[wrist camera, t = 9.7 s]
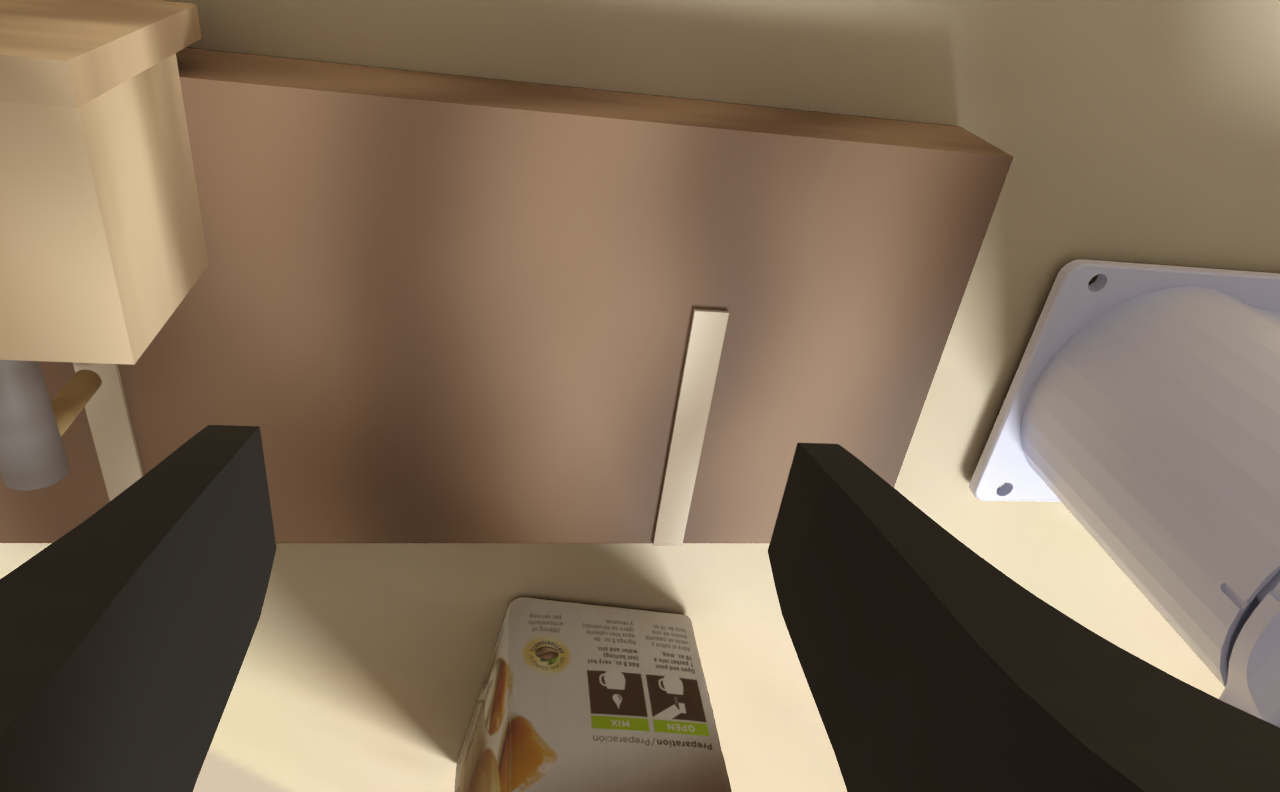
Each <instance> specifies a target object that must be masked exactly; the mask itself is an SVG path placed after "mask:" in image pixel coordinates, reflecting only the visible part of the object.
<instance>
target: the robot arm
mask: <svg viewBox="0 0 1280 792" xmlns="http://www.w3.org/2000/svg"><path fill="white" fill-rule="evenodd" d="M1096 275H1098V278H1097V279H1096V280H1095V282H1094V283H1092V284H1091V285H1088V284H1089V281H1090V280H1091V279H1092V278H1093V277H1094V276H1096ZM1003 483H1005V484H1004V485H1003V486H1001V487H999V486H1000V485H1002V484H1003ZM998 487H999V488H998ZM969 488H970V490H971V492H972V493H973V495H974V496H975V497H976V498H977V499H978V500H982V501H1044V502H1062V503H1063V504H1064V505H1065V507H1066V508H1067V509H1068V510H1069V511H1070V512H1071V513H1072V514H1073V516H1074V517H1075V518H1076V519H1077V520H1078V521H1079V522H1080V524H1081V525H1082V526H1083V527H1084V528H1085V529H1086V530H1087V531H1088V533H1089V534H1090V535H1091V536H1092V537H1093V538H1094V539H1095V540H1096V542H1097V543H1098V544H1099V545H1100V546H1101V547H1102V548H1103V550H1104V551H1105V552H1106V553H1107V554H1108V555H1109V556H1110V557H1111V559H1112V560H1113V561H1114V562H1115V563H1116V564H1117V565H1118V567H1119V568H1120V569H1121V570H1122V571H1123V572H1124V573H1125V574H1126V576H1127V577H1128V578H1129V579H1130V580H1131V581H1132V582H1133V584H1134V585H1135V586H1136V587H1137V588H1138V589H1139V590H1140V591H1141V593H1142V594H1143V595H1144V596H1145V597H1146V598H1147V599H1148V601H1149V602H1150V603H1151V604H1152V605H1153V606H1154V607H1155V608H1156V610H1157V611H1158V612H1159V613H1160V614H1161V615H1162V616H1163V618H1164V619H1165V620H1166V621H1167V622H1168V623H1169V624H1170V625H1171V627H1172V628H1173V629H1174V630H1175V631H1176V632H1177V633H1178V634H1179V636H1180V637H1181V638H1182V639H1183V640H1184V641H1185V642H1186V644H1187V645H1188V646H1189V647H1190V648H1191V649H1192V650H1193V651H1194V653H1195V654H1196V655H1197V656H1198V657H1199V658H1200V659H1201V661H1202V662H1203V663H1204V664H1205V665H1206V666H1207V667H1208V668H1209V670H1210V671H1211V672H1212V673H1213V674H1214V675H1215V676H1216V678H1217V679H1218V680H1219V681H1220V682H1221V683H1222V684H1223V685H1224V687H1225V689H1224V691H1223V693H1222V694H1221V696H1220V698H1219V699H1217V698H1215V697H1213V696H1211V695H1209V694H1207V693H1205V692H1203V691H1201V690H1199V689H1197V688H1195V687H1193V686H1191V685H1189V684H1187V683H1185V682H1183V681H1181V680H1179V679H1177V678H1175V677H1173V676H1171V675H1169V674H1167V673H1166V672H1164V671H1162V670H1160V669H1158V668H1156V667H1154V666H1153V665H1151V664H1149V663H1147V662H1145V661H1143V660H1142V659H1140V658H1138V657H1136V656H1134V655H1132V654H1130V653H1129V652H1127V651H1125V650H1123V649H1121V648H1119V647H1118V646H1116V645H1114V644H1112V643H1111V642H1109V641H1107V640H1106V639H1104V638H1102V637H1100V636H1099V635H1097V634H1095V633H1094V632H1092V631H1090V630H1088V629H1087V628H1085V627H1084V626H1082V625H1080V624H1079V623H1077V622H1076V621H1074V620H1073V619H1071V618H1069V617H1068V616H1066V615H1065V614H1063V613H1061V612H1060V611H1058V610H1057V609H1055V608H1054V607H1052V606H1050V605H1049V604H1047V603H1046V602H1044V601H1042V600H1041V599H1039V598H1038V597H1036V596H1035V595H1033V594H1032V593H1030V592H1029V591H1027V590H1026V589H1024V588H1023V587H1022V586H1020V585H1019V584H1017V583H1016V582H1014V581H1013V580H1012V579H1010V578H1009V577H1007V576H1006V575H1005V574H1003V573H1002V572H1001V571H999V570H998V569H996V568H995V567H994V566H992V565H991V564H989V563H988V562H987V561H985V560H984V559H983V558H981V557H980V556H978V555H977V554H976V553H974V552H973V551H972V550H971V549H969V548H968V547H967V546H965V545H964V544H963V543H961V542H960V541H959V540H957V539H956V538H955V537H954V536H952V535H951V534H950V533H949V532H947V531H946V530H945V529H943V528H942V527H941V526H940V525H938V524H937V523H936V522H935V521H933V520H932V519H931V518H930V517H929V516H927V515H926V514H925V513H924V512H922V511H921V510H920V509H919V508H917V507H916V506H915V505H914V504H913V503H911V502H910V501H909V500H908V499H906V498H905V497H904V496H903V495H902V494H900V493H899V492H898V491H897V490H896V489H894V488H893V487H892V486H891V485H890V484H888V483H887V482H886V481H885V480H884V479H882V478H881V477H880V476H879V475H878V474H876V473H875V472H874V471H873V470H871V469H870V468H869V467H868V466H866V465H865V464H864V463H863V462H862V461H860V460H859V459H858V458H856V457H855V456H854V455H853V454H851V453H850V452H849V451H847V450H846V449H844V448H843V447H842V446H840V445H839V444H826V443H797V446H796V450H795V454H794V457H793V461H792V465H791V468H790V472H789V476H788V479H787V483H786V487H785V490H784V494H783V498H782V501H781V505H780V508H779V512H778V516H777V519H776V523H775V527H774V530H773V534H772V538H771V541H770V545H769V549H768V554H769V559H770V563H771V568H772V573H773V577H774V582H775V587H776V591H777V595H778V599H779V603H780V607H781V611H782V615H783V617H784V620H785V623H786V626H787V629H788V631H789V634H790V637H791V639H792V642H793V645H794V647H795V650H796V653H797V655H798V658H799V661H800V664H801V666H802V669H803V671H804V674H805V677H806V679H807V682H808V684H809V687H810V690H811V692H812V695H813V697H814V700H815V703H816V705H817V708H818V710H819V713H820V716H821V718H822V721H823V724H824V726H825V729H826V731H827V734H828V737H829V739H830V742H831V744H832V747H833V750H834V752H835V755H836V758H837V761H838V764H839V767H840V770H841V773H842V776H843V779H844V782H845V785H846V788H847V792H1280V273H1266V272H1252V271H1238V270H1224V269H1210V268H1196V267H1182V266H1168V265H1154V264H1140V263H1126V262H1113V261H1099V260H1085V259H1079V260H1073V261H1071V262H1069V263H1067V264H1066V265H1065V266H1064V267H1063V268H1062V269H1061V270H1060V271H1059V273H1058V275H1057V277H1056V279H1055V282H1054V284H1053V286H1052V289H1051V291H1050V293H1049V296H1048V298H1047V301H1046V303H1045V305H1044V308H1043V310H1042V312H1041V315H1040V317H1039V320H1038V322H1037V324H1036V327H1035V329H1034V331H1033V334H1032V336H1031V339H1030V341H1029V343H1028V346H1027V348H1026V351H1025V353H1024V355H1023V358H1022V360H1021V362H1020V365H1019V367H1018V370H1017V372H1016V374H1015V377H1014V379H1013V381H1012V384H1011V386H1010V389H1009V391H1008V393H1007V396H1006V398H1005V400H1004V403H1003V405H1002V408H1001V410H1000V412H999V415H998V417H997V420H996V422H995V424H994V427H993V429H992V431H991V434H990V436H989V439H988V441H987V443H986V446H985V448H984V450H983V453H982V455H981V458H980V460H979V462H978V465H977V467H976V470H975V472H974V474H973V477H972V479H971V481H970V486H969ZM275 552H276V542H275V534H274V527H273V520H272V512H271V505H270V498H269V490H268V483H267V476H266V468H265V461H264V454H263V446H262V439H261V432H260V426H231V425H208V426H206V427H205V428H204V429H202V430H201V431H200V432H198V433H197V434H196V435H194V436H193V437H192V438H190V439H189V440H188V441H187V442H185V443H184V444H183V445H182V446H180V447H179V448H178V449H176V450H175V451H174V452H173V453H171V454H170V455H169V456H168V457H166V458H165V459H164V460H163V461H161V462H160V463H159V464H158V465H156V466H155V467H154V468H153V469H151V470H150V471H149V472H148V473H146V474H145V475H144V476H143V477H141V478H140V479H139V480H137V481H136V482H135V483H134V484H132V485H131V486H130V487H128V488H127V489H126V490H124V491H123V492H122V493H120V494H119V495H118V496H117V497H115V498H114V499H113V500H111V501H110V502H109V503H107V504H106V505H105V506H104V507H102V508H101V509H100V510H98V511H97V512H96V513H94V514H93V515H92V516H91V517H89V518H88V519H86V520H85V521H84V522H82V523H81V524H79V525H78V526H77V527H75V528H74V529H72V530H71V531H69V532H68V533H67V534H65V535H64V536H62V537H61V538H59V539H58V540H57V541H55V542H54V543H52V544H51V545H49V546H48V547H47V548H45V549H44V550H42V551H41V552H39V553H38V554H36V555H35V556H34V557H32V558H31V559H29V560H28V561H26V562H25V563H24V564H22V565H21V566H19V567H18V568H16V569H15V570H14V571H12V572H11V573H9V574H8V575H6V576H5V577H3V578H2V579H0V792H193V789H194V786H195V783H196V780H197V778H198V775H199V772H200V770H201V768H202V765H203V762H204V760H205V757H206V755H207V752H208V750H209V747H210V745H211V742H212V739H213V737H214V734H215V732H216V729H217V727H218V724H219V722H220V719H221V716H222V714H223V711H224V709H225V706H226V704H227V701H228V699H229V696H230V694H231V691H232V688H233V686H234V683H235V681H236V678H237V676H238V673H239V671H240V668H241V665H242V663H243V660H244V658H245V655H246V652H247V650H248V647H249V645H250V642H251V639H252V637H253V634H254V631H255V629H256V626H257V623H258V621H259V618H260V614H261V610H262V606H263V602H264V598H265V594H266V591H267V587H268V582H269V578H270V574H271V569H272V565H273V560H274V556H275Z"/></svg>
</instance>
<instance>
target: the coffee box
mask: <svg viewBox="0 0 1280 792" xmlns="http://www.w3.org/2000/svg"><path fill="white" fill-rule="evenodd" d="M455 792H731V787H730V782H729V778H728V774H727V770H726V766H725V761H724V758H723V755H722V751H721V747H720V742H719V737H718V733H717V729H716V724H715V719H714V716H713V710H712V707H711V704H710V698H709V694H708V691H707V686H706V682H705V678H704V674H703V670H702V666H701V662H700V657H699V653H698V649H697V645H696V641H695V637H694V632H693V627H692V623H691V620H690V618H689V617H688V616H685V615H681V614H672V613H663V612H654V611H645V610H636V609H627V608H617V607H608V606H598V605H589V604H580V603H571V602H562V601H553V600H544V599H536V598H527V597H521V598H517V599H515V600H513V601H512V602H510V604H509V607H508V610H507V613H506V616H505V619H504V622H503V625H502V628H501V631H500V634H499V637H498V640H497V643H496V646H495V649H494V652H493V655H492V658H491V662H490V665H489V668H488V671H487V674H486V677H485V680H484V683H483V686H482V690H481V693H480V696H479V699H478V702H477V705H476V708H475V711H474V714H473V717H472V720H471V723H470V726H469V729H468V732H467V734H466V738H465V741H464V744H463V747H462V750H461V753H460V756H459V759H458V762H457V766H456V778H455Z"/></svg>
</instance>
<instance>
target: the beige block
mask: <svg viewBox="0 0 1280 792" xmlns="http://www.w3.org/2000/svg"><path fill="white" fill-rule="evenodd" d="M200 39H202V36H201V29H200V22H199V14H198V7H197V4H191V3H182V2H173V1H164V0H0V473H1V476H2V479H3V482H4V484H5V485H6V486H7V487H9V488H11V489H14V490H22V491H27V490H36V489H41V488H44V487H47V486H50V485H52V484H55V483H57V482H58V481H60V480H61V479H63V478H64V477H65V476H66V475H67V473H68V472H69V464H68V460H67V457H66V453H65V450H64V446H63V443H62V439H61V436H62V435H63V434H64V432H65V431H66V430H67V429H68V427H69V426H70V425H71V424H72V422H73V421H74V420H75V418H76V417H77V416H78V415H79V413H80V412H81V411H82V409H83V408H84V407H85V406H86V404H87V403H88V402H89V400H90V399H91V398H92V397H93V395H94V394H95V393H96V392H97V390H98V389H99V388H100V386H101V384H102V380H101V378H100V376H99V375H98V374H97V373H95V372H94V371H91V370H87V369H83V370H79V371H77V372H76V373H75V375H74V376H73V377H72V378H71V379H70V381H69V382H68V383H67V384H66V385H65V386H64V388H63V389H62V390H61V391H60V392H59V393H58V395H57V396H56V397H55V398H54V399H53V401H52V402H50V398H49V395H48V391H47V388H46V384H45V381H44V377H43V374H42V371H41V367H40V364H39V361H48V362H75V363H103V364H130V365H135V363H136V362H137V360H138V359H139V358H140V356H141V355H142V354H143V352H144V351H145V350H146V348H147V347H148V346H149V344H150V343H151V342H152V340H153V339H154V338H155V336H156V335H157V334H158V332H159V331H160V330H161V328H162V327H163V326H164V324H165V323H166V322H167V320H168V319H169V318H170V316H171V315H172V314H173V312H174V311H175V310H176V308H177V307H178V306H179V304H180V303H181V302H182V300H183V299H184V298H185V296H186V295H187V294H188V292H189V291H190V289H191V288H192V287H193V285H194V284H195V283H196V281H197V280H198V279H199V277H200V276H201V275H202V273H203V272H204V271H205V269H206V268H207V267H208V265H209V262H208V256H207V249H206V243H205V237H204V230H203V224H202V217H201V211H200V205H199V198H198V192H197V186H196V179H195V173H194V166H193V160H192V154H191V147H190V141H189V134H188V128H187V122H186V115H185V109H184V103H183V96H182V90H181V83H180V77H179V71H178V64H177V58H176V53H177V52H179V51H180V50H182V49H184V48H186V47H188V46H189V45H191V44H193V43H195V42H197V41H198V40H200Z"/></svg>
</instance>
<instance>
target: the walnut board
mask: <svg viewBox="0 0 1280 792" xmlns="http://www.w3.org/2000/svg"><path fill="white" fill-rule="evenodd" d="M176 58H177V64H178V71H179V77H180V83H181V90H182V96H183V103H184V109H185V115H186V122H187V128H188V134H189V141H190V147H191V154H192V160H193V166H194V173H195V179H196V186H197V192H198V198H199V205H200V211H201V217H202V224H203V230H204V237H205V243H206V249H207V256H208V262H209V265H208V267H207V268H206V269H205V271H204V272H203V273H202V275H201V276H200V277H199V279H198V280H197V281H196V283H195V284H194V285H193V287H192V288H191V289H190V291H189V292H188V294H187V295H186V296H185V298H184V299H183V300H182V302H181V303H180V304H179V306H178V307H177V308H176V310H175V311H174V312H173V314H172V315H171V316H170V318H169V319H168V320H167V322H166V323H165V324H164V326H163V327H162V328H161V330H160V331H159V332H158V334H157V335H156V336H155V338H154V339H153V340H152V342H151V343H150V344H149V346H148V347H147V348H146V350H145V351H144V352H143V354H142V355H141V356H140V358H139V359H138V360H137V362H136V363H135V365H130V364H103V363H75V362H48V361H39V364H40V367H41V371H42V374H43V377H44V381H45V384H46V388H47V391H48V395H49V398H50V402H52V401H53V399H54V398H55V397H56V396H57V395H58V393H59V392H60V391H61V390H62V389H63V388H64V386H65V385H66V384H67V383H68V382H69V381H70V379H71V378H72V377H73V376H74V375H75V373H76V372H77V371H79V370H83V369H87V370H91V371H94V372H95V373H97V374H98V375H99V376H100V378H101V380H102V384H101V386H100V388H99V389H98V390H97V392H96V393H95V394H94V395H93V397H92V398H91V399H90V400H89V402H88V403H87V404H86V406H85V407H84V408H83V409H82V411H81V412H80V413H79V415H78V416H77V417H76V418H75V420H74V421H73V422H72V424H71V425H70V426H69V427H68V429H67V430H66V431H65V432H64V434H63V435H62V436H61V439H62V443H63V446H64V450H65V453H66V457H67V460H68V464H69V472H68V473H67V475H66V476H65V477H64V478H63V479H61V480H60V481H58V482H57V483H55V484H52V485H50V486H47V487H44V488H41V489H36V490H27V491H22V490H14V489H11V488H9V487H7V486H6V485H5V484H4V482H3V479H2V476H1V473H0V543H54V542H55V541H57V540H58V539H59V538H61V537H62V536H64V535H65V534H67V533H68V532H69V531H71V530H72V529H74V528H75V527H77V526H78V525H79V524H81V523H82V522H84V521H85V520H86V519H88V518H89V517H91V516H92V515H93V514H94V513H96V512H97V511H98V510H100V509H101V508H102V507H104V506H105V505H106V504H107V503H109V502H110V501H111V500H113V499H114V498H115V497H117V496H118V495H119V494H120V493H122V492H123V491H124V490H126V489H127V488H128V487H130V486H131V485H132V484H134V483H135V482H136V481H137V480H139V479H140V478H141V477H143V476H144V475H145V474H146V473H148V472H149V471H150V470H151V469H153V468H154V467H155V466H156V465H158V464H159V463H160V462H161V461H163V460H164V459H165V458H166V457H168V456H169V455H170V454H171V453H173V452H174V451H175V450H176V449H178V448H179V447H180V446H182V445H183V444H184V443H185V442H187V441H188V440H189V439H190V438H192V437H193V436H194V435H196V434H197V433H198V432H200V431H201V430H202V429H204V428H205V427H206V426H208V425H231V426H260V432H261V439H262V446H263V454H264V461H265V468H266V476H267V483H268V490H269V498H270V505H271V512H272V520H273V527H274V534H275V542H276V543H653V546H682V544H683V543H770V541H771V538H772V534H773V530H774V527H775V523H776V519H777V516H778V512H779V508H780V505H781V501H782V498H783V494H784V490H785V487H786V483H787V479H788V476H789V472H790V468H791V465H792V461H793V457H794V454H795V450H796V446H797V443H826V444H839V445H840V446H842V447H843V448H844V449H846V450H847V451H849V452H850V453H851V454H853V455H854V456H855V457H856V458H858V459H859V460H860V461H862V462H863V463H864V464H865V465H866V466H868V467H869V468H870V469H871V470H873V471H874V472H875V473H876V474H878V475H879V476H880V477H881V478H882V479H884V480H885V481H886V482H887V483H888V484H890V485H891V486H892V487H893V488H894V485H895V483H896V480H897V477H898V474H899V472H900V469H901V466H902V463H903V461H904V458H905V455H906V452H907V449H908V447H909V444H910V441H911V438H912V436H913V433H914V430H915V427H916V425H917V422H918V419H919V416H920V413H921V411H922V408H923V405H924V402H925V400H926V397H927V394H928V391H929V389H930V386H931V383H932V380H933V377H934V375H935V372H936V369H937V366H938V364H939V361H940V358H941V355H942V353H943V350H944V347H945V344H946V341H947V339H948V336H949V333H950V330H951V328H952V325H953V322H954V319H955V317H956V314H957V311H958V308H959V305H960V303H961V300H962V297H963V294H964V292H965V289H966V286H967V283H968V281H969V278H970V275H971V272H972V269H973V267H974V264H975V261H976V258H977V256H978V253H979V250H980V247H981V245H982V242H983V239H984V236H985V233H986V231H987V228H988V225H989V222H990V220H991V217H992V214H993V211H994V209H995V206H996V203H997V200H998V197H999V195H1000V192H1001V189H1002V186H1003V184H1004V181H1005V178H1006V175H1007V173H1008V170H1009V167H1010V164H1011V161H1012V159H1013V157H1012V156H1011V155H1009V154H1007V153H1005V152H1003V151H1002V150H1000V149H998V148H996V147H995V146H993V145H991V144H989V143H987V142H986V141H984V140H982V139H980V138H979V137H977V136H975V135H973V134H971V133H970V132H968V131H966V130H964V129H963V128H961V127H958V126H948V125H938V124H928V123H918V122H909V121H899V120H889V119H879V118H869V117H860V116H850V115H840V114H830V113H820V112H811V111H801V110H791V109H781V108H771V107H762V106H752V105H742V104H732V103H722V102H713V101H703V100H693V99H683V98H673V97H664V96H654V95H644V94H634V93H624V92H615V91H605V90H595V89H585V88H575V87H566V86H556V85H546V84H536V83H526V82H517V81H507V80H497V79H487V78H477V77H468V76H458V75H448V74H438V73H428V72H419V71H409V70H399V69H389V68H379V67H370V66H360V65H350V64H340V63H330V62H321V61H311V60H301V59H291V58H281V57H272V56H262V55H252V54H242V53H232V52H223V51H213V50H203V49H193V48H184V49H182V50H180V51H179V52H177V53H176Z"/></svg>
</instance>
